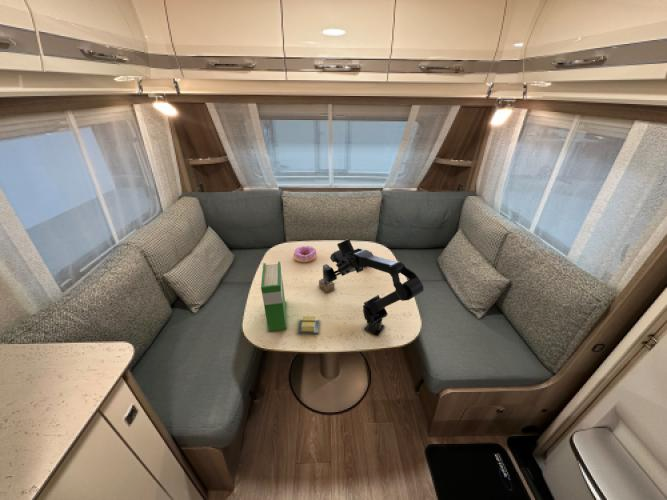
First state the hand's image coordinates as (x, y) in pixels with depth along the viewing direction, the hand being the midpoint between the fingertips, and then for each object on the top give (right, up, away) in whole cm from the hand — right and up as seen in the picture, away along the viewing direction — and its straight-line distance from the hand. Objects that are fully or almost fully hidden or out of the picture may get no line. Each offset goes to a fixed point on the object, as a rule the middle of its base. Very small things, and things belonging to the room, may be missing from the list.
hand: (334, 273), depth 130 cm
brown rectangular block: (-4, -8, +11) cm, 15 cm away
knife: (-4, -8, +11) cm, 15 cm away
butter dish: (-11, -23, -13) cm, 28 cm away
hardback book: (-27, -19, -6) cm, 33 cm away
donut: (-18, +7, +38) cm, 43 cm away
